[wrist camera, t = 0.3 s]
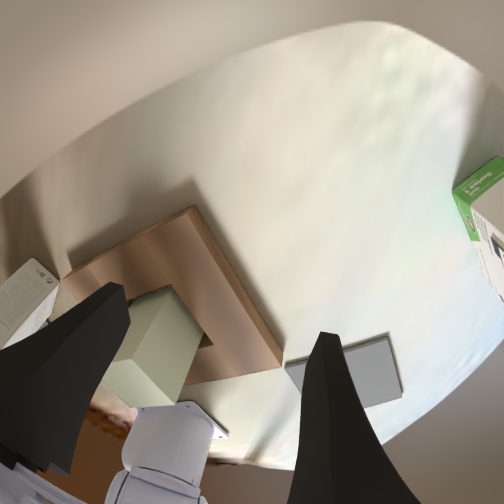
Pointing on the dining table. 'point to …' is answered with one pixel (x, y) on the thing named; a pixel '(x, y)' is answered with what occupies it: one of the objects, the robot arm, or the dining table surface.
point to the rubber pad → (364, 372)
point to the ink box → (485, 219)
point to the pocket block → (189, 293)
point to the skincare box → (25, 302)
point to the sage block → (155, 351)
